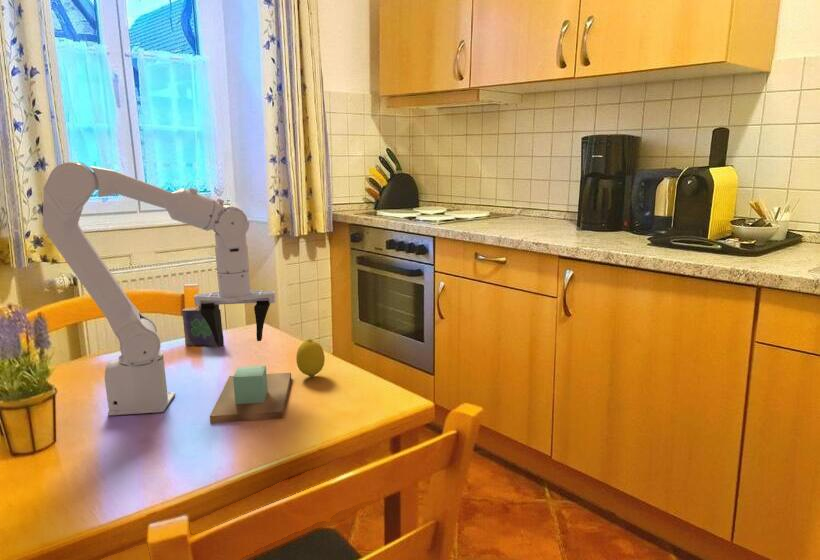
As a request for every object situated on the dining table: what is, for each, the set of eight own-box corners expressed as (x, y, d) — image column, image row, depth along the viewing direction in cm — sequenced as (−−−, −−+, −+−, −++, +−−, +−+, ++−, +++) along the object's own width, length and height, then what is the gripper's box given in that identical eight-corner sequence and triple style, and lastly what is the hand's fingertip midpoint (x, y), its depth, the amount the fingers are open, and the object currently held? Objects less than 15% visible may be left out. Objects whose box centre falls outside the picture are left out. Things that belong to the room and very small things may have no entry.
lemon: (319, 383, 116) (317, 344, 114) (293, 381, 117) (290, 343, 115) (329, 373, 121) (327, 335, 119) (303, 371, 122) (301, 334, 120)
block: (235, 404, 104) (233, 377, 103) (239, 392, 109) (237, 367, 108) (264, 402, 105) (262, 375, 104) (267, 391, 109) (265, 365, 108)
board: (210, 422, 100) (209, 416, 100) (229, 381, 117) (229, 376, 117) (282, 418, 101) (282, 411, 101) (291, 378, 119) (291, 372, 118)
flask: (183, 346, 139) (179, 302, 136) (189, 343, 142) (185, 299, 139) (221, 347, 138) (217, 303, 135) (226, 343, 141) (222, 300, 138)
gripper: (187, 276, 105) (194, 349, 108) (270, 273, 107) (275, 345, 110) (196, 268, 112) (203, 337, 115) (274, 265, 113) (279, 333, 116)
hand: (239, 340), depth 113 cm, fingers open, 7 cm apart
